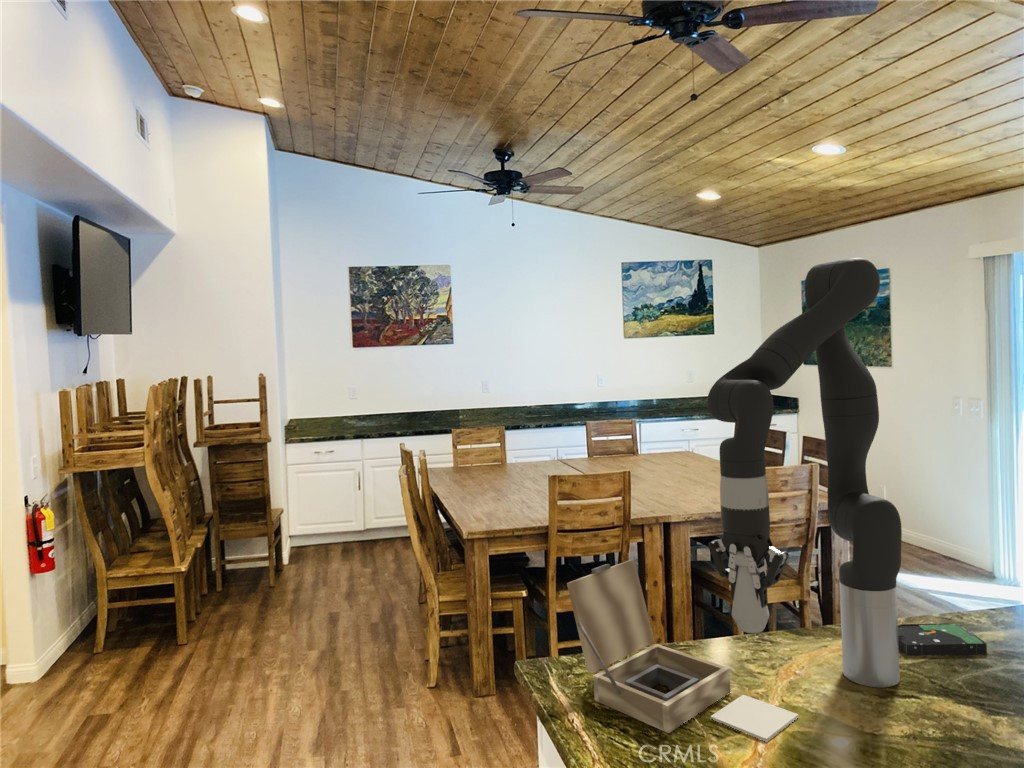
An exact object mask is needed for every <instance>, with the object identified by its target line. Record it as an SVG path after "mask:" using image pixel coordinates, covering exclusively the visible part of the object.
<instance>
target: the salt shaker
mask: <svg viewBox="0 0 1024 768" xmlns="http://www.w3.org/2000/svg"><path fill="white" fill-rule="evenodd" d="M750 562H751V561H750ZM735 563H736V565H738V572H737V580H736V587H735V593H734V600H732V609H731V617H732V618H733V620H734V622H735V624H736V626H737V628H738V631H741V632H744V633H747V634H758V633H762V632H763V631H764V630H765V628H766V625H767V624H768V621H769V618H770V611H769V607H768V605H767V606H765V607H763V608H762V606H761V601H760V596H759V593H758V601H757V597H756V593H755V587H754V584H753V579H752V575H751V574H750V573H749V568H748V566H749V559H748V557H746V556H745V553H744V552H743V551H738V552H737V554H736V555H735ZM759 565H760V564H759ZM759 565H756V566H759Z"/></svg>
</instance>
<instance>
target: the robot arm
mask: <svg viewBox="0 0 1024 768" xmlns="http://www.w3.org/2000/svg"><path fill="white" fill-rule="evenodd" d="M880 287H881V277H880V274H879V271H878V269H877V267H876V266H875V264H873V262H872V261H870V260H869V259H867V258H863V257H849V258H844V259H839V260H834V261H828V262H824V263H819V264H816V265H813V266H812V267H811V268H810V269H809V270H808V271H807V273H806V277H805V280H804V300H805V305H806V309H807V310H806V311H804V312H802V313H801V314H799V315H798V316H796V317H794V318H793V319H791V320H790V321H788V322H787V323H785V324H783V325H782V326H780V327H779V328H777V329H776V330H775V331H774V332H772V333H771V334H770V335H769V336H768V337H767V338H766V339H765V340H764V341H763V342H762V343H761V344H760V345H759V347H758V348H756V350H755V351H754V352H753V354H751V356H750V357H749V358H747V359H745V360H743V361H742V362H741V363H739V364H738V365H736V366H734V367H733V368H732V369H731V370H728V371H727V372H726V373H724V374H723V375H721V377H719V378H718V379H717V380H716V381H715V382H714V384H713V385H712V386H711V388H710V389H709V392H708V394H707V400H706V407H707V409H708V412H709V414H710V416H711V417H712V418H714V419H716V420H717V421H719V422H722V423H735V424H737V427H736V430H735V431H736V432H735V434H734V437H729V438H725V439H724V440H723V441H721V443H720V445H719V467H720V468H719V470H720V471H719V472H720V481H719V499H720V500H719V502H720V518H721V519H720V520H721V521H720V523H721V530H722V531H723V532H722V535H721V538H720V539H718V538H717V539H714V540H712V541H709V542H708V543H707V548H708V549H709V552H710V554H711V557H712V560H713V562H714V564H715V567H716V569H717V571H718V574H719V576H720V577H721V578H727V580H728V581H729V583H730V591H731V592H730V593H731V599H732V601H733V600H734V593H735V587H736V580H737V572H738V565H736V563H735V555H736V554H737V552H738V551H743V552H744V553H745V556H746V557H748V559H749V566H748V568H749V573H750V574H751V575H752V579H753V584H754V587H755V593H756V597H757V601H758V593H759V596H760V601H761V606H762V608H763V607H765V606H767V607H768V603H769V602H768V598H769V597H768V588H770V587H772V586H774V585H775V584H779V581H780V578H781V576H782V573H783V572H784V570H785V566H786V564H787V562H788V560H789V552H787V551H786V550H782V551H780V550H779V549H777V548H776V547H775V546H773V542H772V540H771V537H770V531H771V520H770V519H771V517H770V514H771V513H770V500H769V494H770V493H769V485H768V480H767V472H766V452H765V451H766V446H767V441H768V436H769V432H770V429H771V424H772V419H773V414H774V409H775V408H774V398H773V395H772V392H771V391H774V390H777V389H779V388H781V387H783V386H784V385H785V384H786V383H787V382H788V381H789V380H790V379H791V377H792V376H793V375H794V374H796V373H795V372H797V371H798V369H799V368H800V367H802V365H803V364H804V362H806V360H807V359H808V358H809V357H810V356H812V354H813V353H814V352H815V355H816V356H815V357H816V365H817V373H818V380H819V381H818V383H819V394H820V406H821V413H822V414H821V415H822V416H821V417H822V421H823V423H822V424H823V428H824V439H825V455H826V460H827V463H826V464H827V517H828V521H829V523H828V524H829V525H830V528H831V530H833V532H834V534H835V535H837V536H838V537H839V538H841V539H843V540H845V541H848V542H850V543H851V544H852V560H848V561H845V562H843V563H842V564H840V566H839V569H838V577H839V582H838V583H839V600H840V601H839V602H840V603H839V604H840V626H841V629H840V631H841V650H842V651H841V654H842V655H841V656H842V657H841V658H842V674H843V676H844V677H845V678H847V680H849V681H851V682H853V683H856V684H857V685H861V686H865V687H870V688H891V687H893V686H896V685H898V684H899V683H900V680H901V673H900V672H901V671H900V649H899V640H898V624H899V620H898V618H899V616H898V595H897V594H898V591H897V577H898V574H899V572H900V569H901V566H902V534H903V533H902V532H903V531H902V521H901V516H900V513H899V511H898V509H897V507H896V506H895V504H893V503H892V502H891V501H889V500H887V499H886V498H882V497H879V496H875V495H871V494H870V492H869V487H868V482H867V472H866V466H867V463H866V462H867V458H868V453H869V452H870V449H871V446H872V444H873V441H874V440H875V437H876V434H877V431H878V428H879V423H880V410H879V400H878V391H877V385H876V383H875V382H876V381H875V379H874V377H873V376H872V373H871V372H870V371H869V369H868V367H867V366H866V365H865V363H864V362H863V361H862V359H861V358H860V356H859V355H858V354H857V352H856V351H855V350H854V348H853V347H852V344H851V343H850V340H849V339H848V335H847V331H846V324H848V323H849V322H850V321H852V320H853V319H854V318H856V317H857V316H858V315H860V313H862V312H863V311H865V310H866V309H867V308H868V307H870V305H872V304H873V302H874V301H875V300H876V298H877V296H878V294H879V292H880V291H879V290H880ZM727 553H728V554H727ZM728 555H729V556H728ZM768 555H769V560H768V561H769V562H770V565H769V567H768V564H767V561H766V558H767V557H768ZM750 561H751V562H750ZM759 564H760V565H759ZM756 565H759V566H756Z"/></svg>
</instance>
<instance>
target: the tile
mask: <svg viewBox="0 0 1024 768" xmlns="http://www.w3.org/2000/svg"><path fill="white" fill-rule="evenodd" d="M797 718H798V719H799V713H796V712H792V711H790V710H788V709H784V708H782V707H779V706H777V705H773V704H771V703H769V702H765V701H763V700H759V699H757V698H754V697H751V696H749V695H745V694H742V695H740V696H739V697H738V698H737V697H736V698H735V699H734V700H732V701H731V702H729V703H728V704H727V705H725V706H724V707H722V708H721V709H719V710H718V711H716V712H715V713H714V714H712V715H710V720H711V719H713V720H715V721H717V722H720V723H723V724H725V725H727V726H730V727H732V728H734V729H733V730H735V729H737V730H739V731H742V732H744V733H747V734H749V735H751V736H750V737H752V736H754V737H756V738H755V739H757V738H758V739H757V740H759V739H761V740H760V741H762V740H763V741H762V742H764V741H765V743H769V741H771V740H772V739H773V738H775V737H776V736H777V735H779V734H780V733H781V732H782V731H784V730H785V729H787V728H788V727H789V726H790V725H791V724H793V723H794V722H795V721H797V720H798V719H797ZM794 720H795V721H794ZM715 721H714V722H715ZM717 722H716V723H717ZM792 722H793V723H792ZM720 723H719V724H720ZM789 724H790V725H789ZM725 725H724V726H725ZM788 725H789V726H788ZM727 726H726V727H727ZM730 727H729V728H730ZM732 728H731V729H732ZM784 728H785V729H784ZM783 729H784V730H783ZM737 730H736V731H737ZM739 731H738V732H739ZM780 731H781V732H780ZM742 732H741V733H742ZM779 732H780V733H779ZM744 733H743V734H744ZM747 734H746V735H747ZM749 735H748V736H749ZM775 735H776V736H775ZM774 736H775V737H774ZM754 737H753V738H754ZM771 738H772V739H771ZM770 739H771V740H770Z"/></svg>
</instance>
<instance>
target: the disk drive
mask: <svg viewBox="0 0 1024 768" xmlns="http://www.w3.org/2000/svg"><path fill="white" fill-rule="evenodd" d="M898 640H899V651H900V652H902V653H903V654H905V656H907V657H910V656H911V657H913V656H915V657H922V656H969V655H970V656H973V655H974V656H977V655H978V656H981V655H983V656H984V655H987V654H988V647H987V645H988V644H987V642H985V641H984V640H983V639H981V638H980V637H979V636H978V635H976V634H975V633H973V632H971V631H969V630H967V628H964V627H963V625H962V624H961V623H959V624H958V623H957V624H956V623H949V622H948V623H947V622H945V623H902V624H901V623H900V624H899V623H898Z"/></svg>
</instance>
